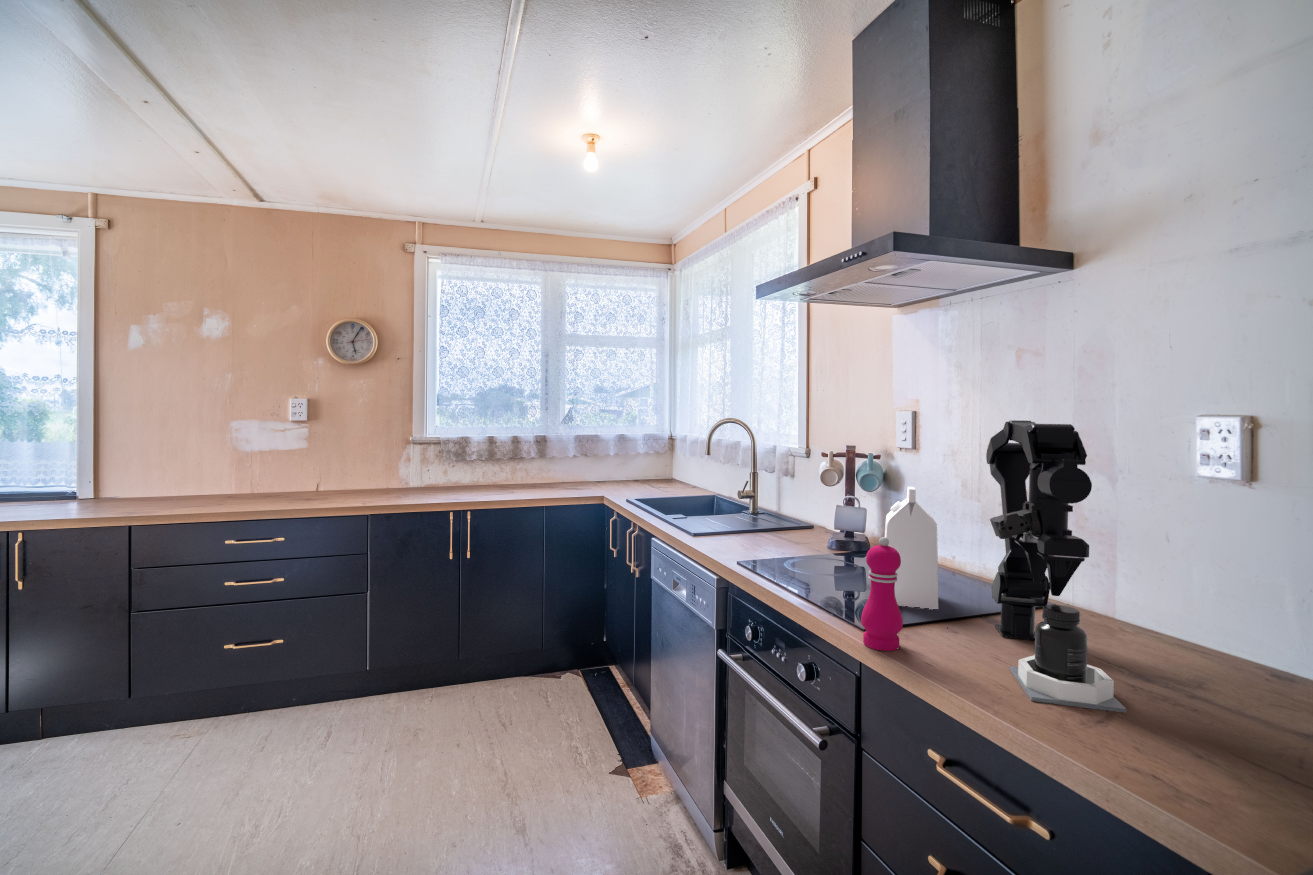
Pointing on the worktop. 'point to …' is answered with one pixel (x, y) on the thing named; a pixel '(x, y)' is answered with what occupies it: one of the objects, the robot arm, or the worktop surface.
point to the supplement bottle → (1061, 645)
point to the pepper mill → (882, 599)
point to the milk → (914, 552)
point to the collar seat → (1067, 688)
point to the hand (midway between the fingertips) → (1045, 588)
